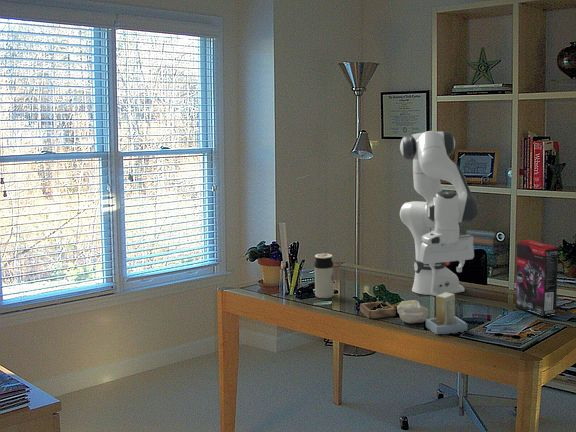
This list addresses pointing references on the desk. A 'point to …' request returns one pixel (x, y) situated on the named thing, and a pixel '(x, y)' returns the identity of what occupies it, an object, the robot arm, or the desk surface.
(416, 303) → the fossil replica
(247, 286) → the desk surface
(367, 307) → the tray
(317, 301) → the desk surface
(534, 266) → the graphics card box
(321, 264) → the travel mug
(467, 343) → the desk surface
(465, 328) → the slate tray
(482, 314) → the desk surface
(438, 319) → the skincare box
